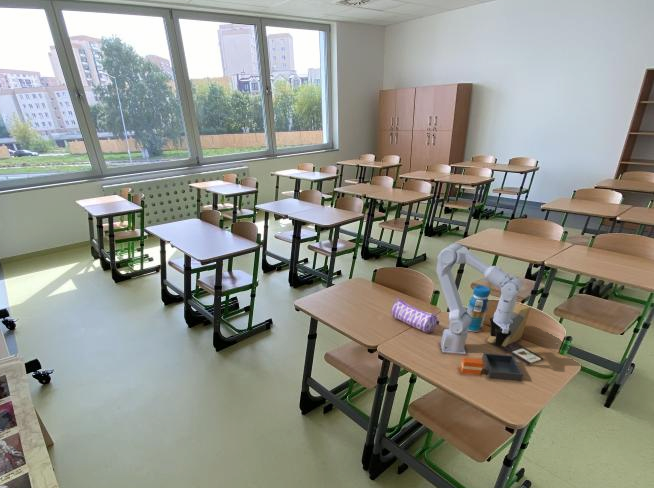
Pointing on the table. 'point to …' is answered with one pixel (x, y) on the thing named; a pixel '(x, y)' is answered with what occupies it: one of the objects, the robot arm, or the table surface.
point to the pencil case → (414, 316)
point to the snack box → (471, 365)
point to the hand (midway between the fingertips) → (495, 340)
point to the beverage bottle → (478, 307)
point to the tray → (501, 367)
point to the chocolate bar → (521, 353)
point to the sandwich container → (515, 324)
